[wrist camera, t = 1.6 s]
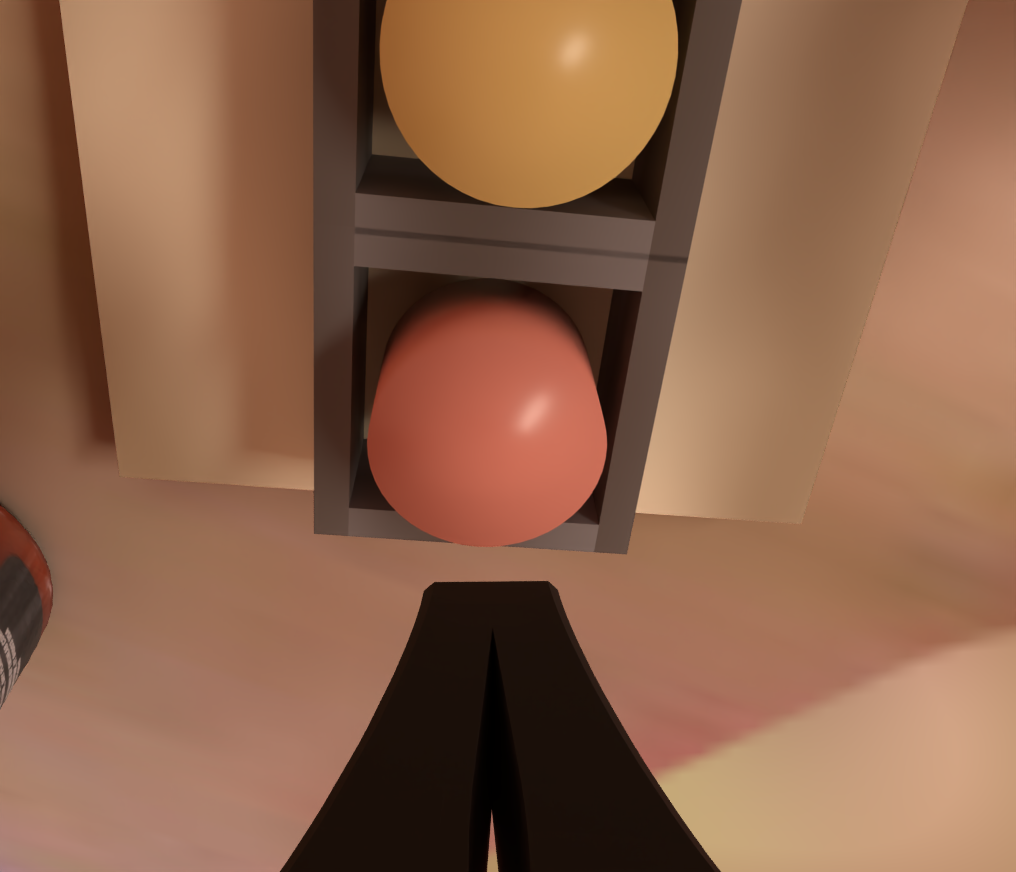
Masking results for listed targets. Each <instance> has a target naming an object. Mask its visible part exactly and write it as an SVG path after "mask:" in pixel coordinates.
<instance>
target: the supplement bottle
mask: <svg viewBox="0 0 1016 872" xmlns="http://www.w3.org/2000/svg"><path fill="white" fill-rule="evenodd" d="M52 599H53V587H52V582H51V575H50V570H49V568H48V565H47V562H46V559H45V558H44V556H43V554H42V552H41V550H40V548H39V547H38V545H37V544H36V542H35V541H34V540H33V538H32V537H31V536H30V534H29V533H28V531H27V530H25V529H24V528H23V526H22V525H21V524H20V523H19V522H18V521H17V520H16V518H15V517H14V516H12V515H11V514H10V513H9V512H7V510H6V509H5V508H3V507H2V506H1V505H0V709H1V707H2V705H3V703H4V702H5V700H6V698H7V696H8V695H9V693H10V692H11V690H12V687H13V685H14V684H15V682H16V681H17V679H18V677H19V676H20V674H21V672H22V670H23V669H24V667H25V666H26V664H27V663H28V661H29V659H30V657H31V655H32V653H33V651H34V650H35V648H36V646H37V644H38V642H39V639H40V637H41V635H42V633H43V631H44V629H45V628H46V626H47V624H48V620H49V617H50V613H51V609H52V605H53V603H52Z"/></svg>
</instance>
